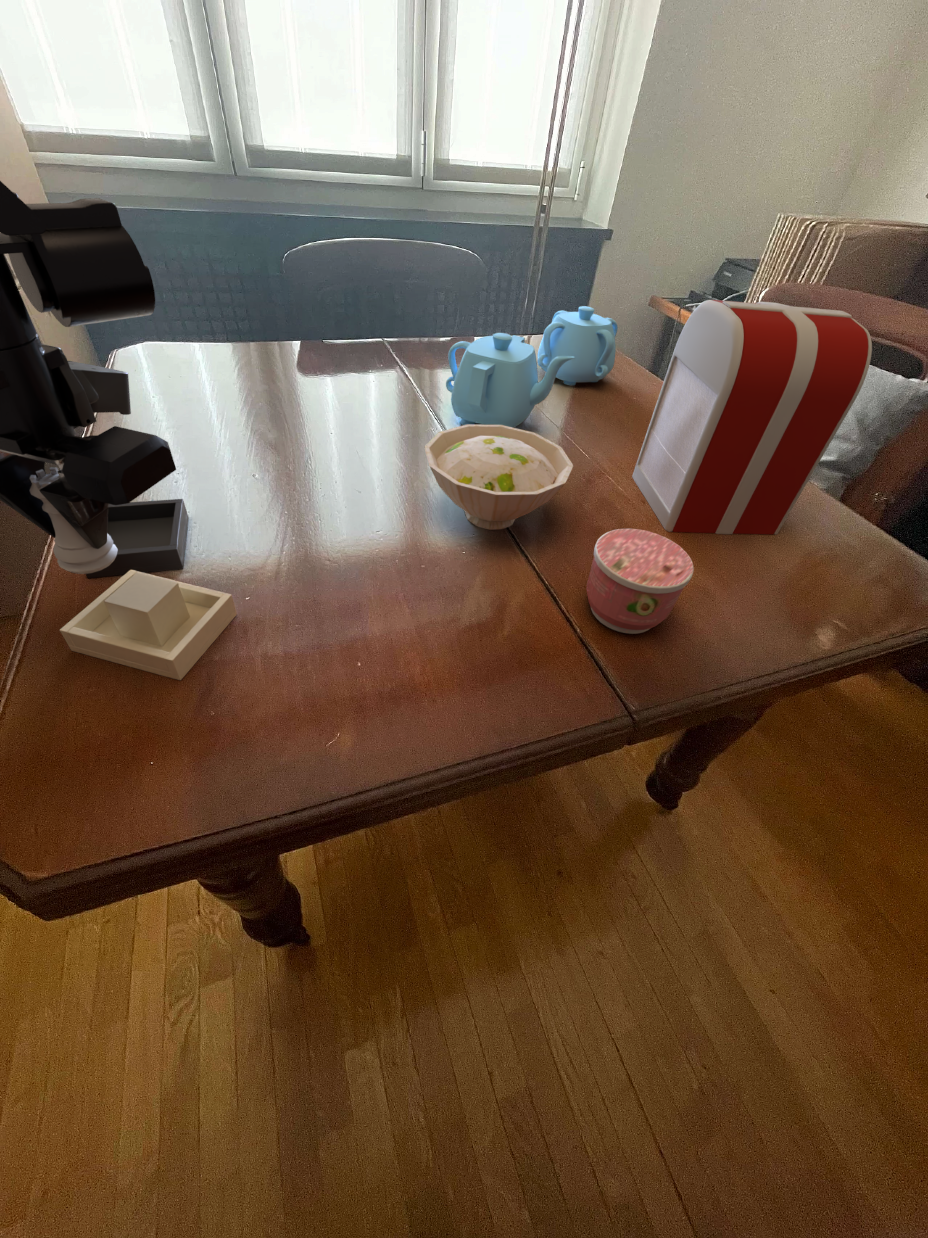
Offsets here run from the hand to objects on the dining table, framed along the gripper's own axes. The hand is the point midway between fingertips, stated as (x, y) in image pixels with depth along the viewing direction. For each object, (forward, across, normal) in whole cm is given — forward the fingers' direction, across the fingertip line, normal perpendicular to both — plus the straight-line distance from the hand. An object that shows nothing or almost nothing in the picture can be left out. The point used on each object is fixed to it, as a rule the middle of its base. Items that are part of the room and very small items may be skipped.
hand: (81, 540), depth 45 cm
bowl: (+12, -28, -37) cm, 48 cm away
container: (+12, -47, -23) cm, 54 cm away
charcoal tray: (+12, +9, -13) cm, 20 cm away
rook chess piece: (+2, 0, 0) cm, 2 cm away
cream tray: (+12, -2, -2) cm, 12 cm away
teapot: (+13, -22, -68) cm, 72 cm away
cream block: (+11, -2, -2) cm, 12 cm away
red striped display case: (+13, -58, -53) cm, 79 cm away
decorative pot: (+13, -32, -99) cm, 104 cm away
